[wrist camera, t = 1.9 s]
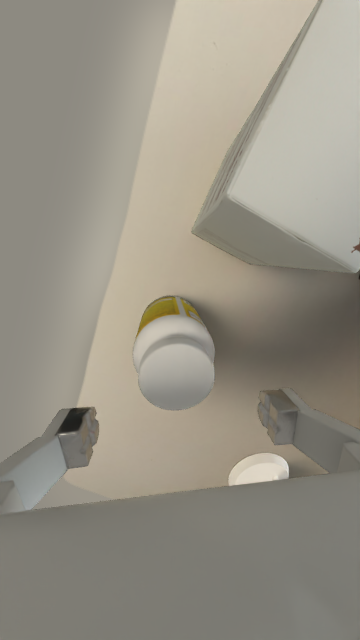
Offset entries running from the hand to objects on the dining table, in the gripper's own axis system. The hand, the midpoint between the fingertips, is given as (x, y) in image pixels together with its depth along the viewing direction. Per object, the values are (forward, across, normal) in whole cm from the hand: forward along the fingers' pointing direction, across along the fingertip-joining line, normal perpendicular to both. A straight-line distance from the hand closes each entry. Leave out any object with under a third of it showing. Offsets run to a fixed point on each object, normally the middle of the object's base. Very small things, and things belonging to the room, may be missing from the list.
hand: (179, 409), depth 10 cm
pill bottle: (+14, 0, 0) cm, 14 cm away
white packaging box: (+13, -7, -11) cm, 19 cm away
